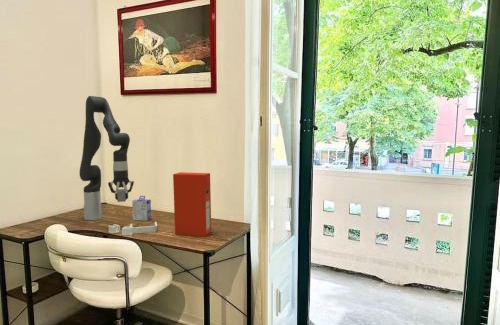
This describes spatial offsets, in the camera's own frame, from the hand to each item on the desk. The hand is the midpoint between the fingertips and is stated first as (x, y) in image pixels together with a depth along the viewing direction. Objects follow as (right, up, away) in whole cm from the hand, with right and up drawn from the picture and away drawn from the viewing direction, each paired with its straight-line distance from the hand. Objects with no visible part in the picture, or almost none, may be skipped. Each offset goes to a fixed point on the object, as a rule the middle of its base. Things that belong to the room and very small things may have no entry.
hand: (121, 199), depth 185 cm
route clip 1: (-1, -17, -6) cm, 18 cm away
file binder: (+42, -17, -9) cm, 46 cm away
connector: (-1, 0, +2) cm, 3 cm away
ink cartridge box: (+5, -15, +19) cm, 24 cm away
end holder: (+13, -16, -3) cm, 21 cm away
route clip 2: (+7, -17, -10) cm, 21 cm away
